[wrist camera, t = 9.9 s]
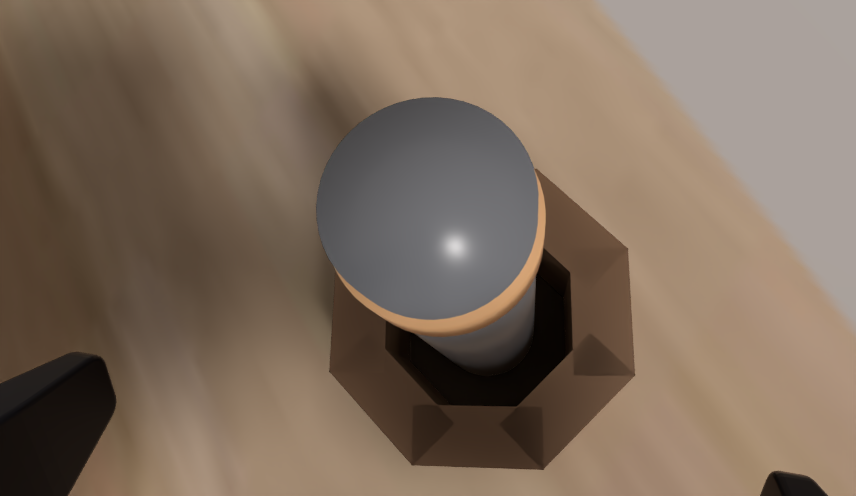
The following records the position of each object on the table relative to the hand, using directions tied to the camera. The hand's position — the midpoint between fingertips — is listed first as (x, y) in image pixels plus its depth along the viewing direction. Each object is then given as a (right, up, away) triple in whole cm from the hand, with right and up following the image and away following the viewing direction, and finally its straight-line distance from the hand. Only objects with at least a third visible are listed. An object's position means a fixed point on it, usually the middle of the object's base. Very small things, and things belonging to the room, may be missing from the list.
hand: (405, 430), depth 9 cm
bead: (+2, 0, +11) cm, 11 cm away
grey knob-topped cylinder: (+2, 0, +11) cm, 11 cm away
